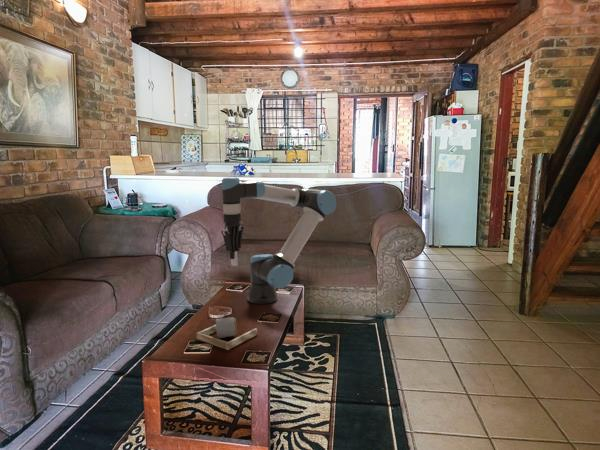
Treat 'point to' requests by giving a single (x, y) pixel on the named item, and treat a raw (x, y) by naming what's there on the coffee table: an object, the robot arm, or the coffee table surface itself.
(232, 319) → the tilted grey cube
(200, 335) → the u-shaped bracket
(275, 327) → the coffee table surface
